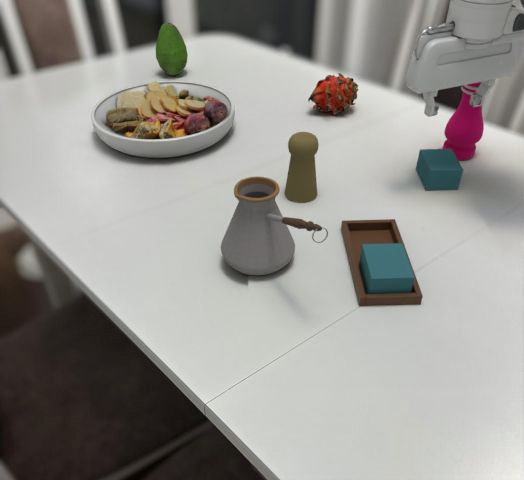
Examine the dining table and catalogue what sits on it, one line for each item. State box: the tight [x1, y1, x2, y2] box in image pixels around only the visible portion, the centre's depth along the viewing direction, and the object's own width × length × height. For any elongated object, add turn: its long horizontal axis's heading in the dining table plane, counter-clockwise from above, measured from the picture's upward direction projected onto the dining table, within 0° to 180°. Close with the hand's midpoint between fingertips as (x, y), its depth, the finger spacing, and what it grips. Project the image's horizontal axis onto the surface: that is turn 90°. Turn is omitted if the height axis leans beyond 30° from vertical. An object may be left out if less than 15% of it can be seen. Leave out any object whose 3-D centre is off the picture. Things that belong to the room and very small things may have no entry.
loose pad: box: [415, 148, 464, 191], centre depth 99 cm, size 6×8×4 cm
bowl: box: [90, 80, 236, 159], centre depth 112 cm, size 30×30×8 cm
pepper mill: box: [442, 82, 490, 161], centre depth 100 cm, size 7×7×20 cm
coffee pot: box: [220, 175, 329, 276], centre depth 75 cm, size 21×12×15 cm, turn 31°
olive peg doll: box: [284, 131, 319, 204], centre depth 93 cm, size 6×6×11 cm
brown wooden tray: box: [340, 218, 423, 307], centre depth 81 cm, size 9×19×2 cm, turn 2°
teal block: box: [359, 243, 415, 294], centre depth 77 cm, size 6×8×4 cm
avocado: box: [155, 21, 189, 76], centre depth 133 cm, size 8×8×12 cm
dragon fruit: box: [307, 72, 359, 116], centre depth 118 cm, size 8×8×12 cm
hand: (453, 110), depth 91 cm, fingers open, 8 cm apart
